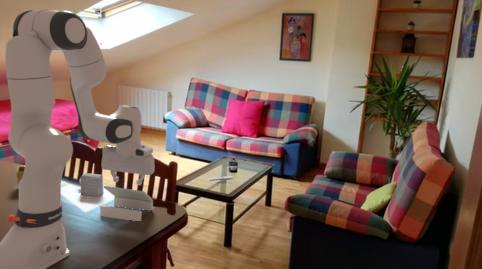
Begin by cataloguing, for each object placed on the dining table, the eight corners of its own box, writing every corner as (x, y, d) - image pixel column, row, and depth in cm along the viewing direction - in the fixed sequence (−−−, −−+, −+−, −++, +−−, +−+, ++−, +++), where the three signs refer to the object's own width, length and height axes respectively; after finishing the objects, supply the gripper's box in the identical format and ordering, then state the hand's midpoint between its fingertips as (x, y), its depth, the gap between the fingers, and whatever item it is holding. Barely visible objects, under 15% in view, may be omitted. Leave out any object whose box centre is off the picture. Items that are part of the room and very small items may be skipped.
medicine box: (102, 193, 171) (103, 174, 169) (98, 197, 167) (98, 177, 165) (85, 191, 172) (85, 172, 170) (80, 194, 167) (80, 175, 166)
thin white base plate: (140, 222, 145) (140, 212, 144) (100, 216, 147) (100, 206, 147) (152, 210, 157) (152, 201, 156) (115, 205, 159) (115, 195, 158)
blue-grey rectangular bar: (137, 218, 149) (137, 212, 149) (113, 214, 150) (113, 208, 150) (140, 215, 152) (141, 209, 152) (116, 212, 153) (116, 206, 153)
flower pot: (18, 186, 171) (18, 166, 169) (40, 184, 175) (40, 165, 173) (16, 192, 163) (16, 172, 162) (40, 191, 167) (39, 171, 165)
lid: (143, 193, 145) (144, 191, 146) (103, 187, 148) (104, 185, 148) (152, 201, 156) (152, 199, 156) (115, 196, 158) (115, 194, 158)
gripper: (98, 146, 145) (97, 182, 147) (150, 152, 142) (149, 189, 145) (106, 143, 151) (106, 177, 154) (157, 149, 148) (155, 184, 151)
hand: (127, 183), depth 149 cm, fingers open, 8 cm apart
